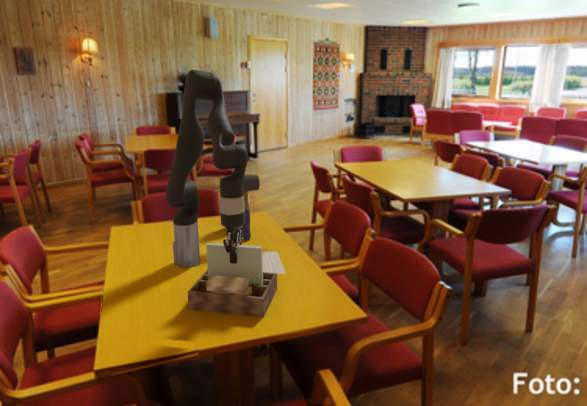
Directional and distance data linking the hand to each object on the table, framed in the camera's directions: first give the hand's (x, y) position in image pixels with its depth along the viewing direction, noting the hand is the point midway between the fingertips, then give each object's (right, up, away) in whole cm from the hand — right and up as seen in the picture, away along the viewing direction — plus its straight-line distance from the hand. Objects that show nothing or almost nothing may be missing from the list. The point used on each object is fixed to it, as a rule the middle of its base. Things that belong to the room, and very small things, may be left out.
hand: (234, 261), depth 140 cm
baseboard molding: (+9, -8, +28) cm, 30 cm away
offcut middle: (-1, -11, -3) cm, 11 cm away
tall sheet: (0, -12, +3) cm, 13 cm away
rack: (0, -14, +3) cm, 14 cm away
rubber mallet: (-3, +2, +59) cm, 59 cm away
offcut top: (-2, -8, -4) cm, 9 cm away
